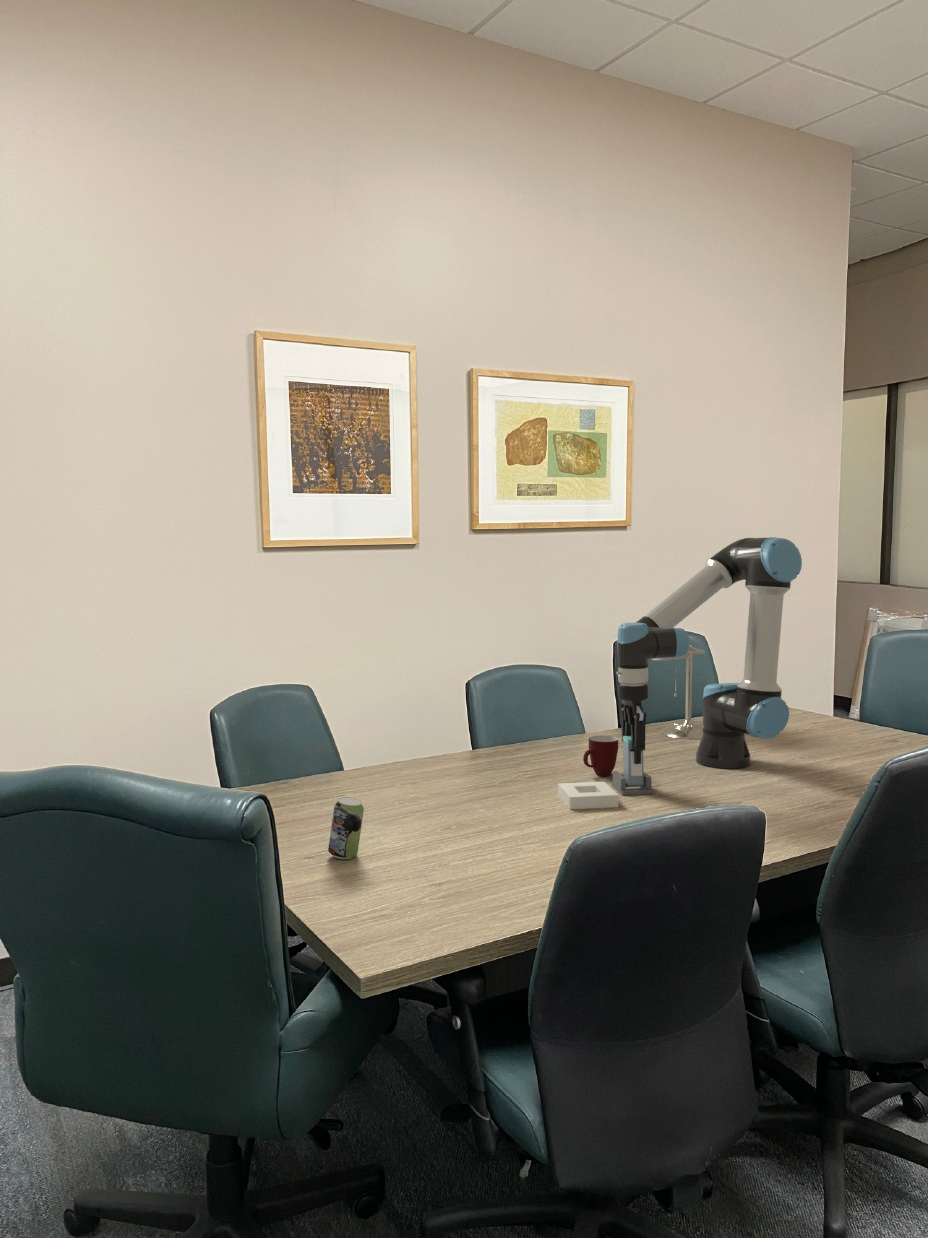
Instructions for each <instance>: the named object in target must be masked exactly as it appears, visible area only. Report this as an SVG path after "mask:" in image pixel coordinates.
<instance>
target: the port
mask: <svg viewBox="0 0 928 1238" xmlns="http://www.w3.org/2000/svg"><path fill="white" fill-rule="evenodd" d="M557 796H558V797H559V799H560V800H561V801H562V802H563V803H564V804H565V805H566V807H567V808H568V809H569V810H583V809H584V810H588V809H605V808H606V809H607V808H609V809H610V808H619V794H618V793H617V792H616V791H615V790H614V789H612V788H611V787H610V785H608V784H607V783H606V782H605V781H589V782H583V781H582V782H568V783H567V782H566V783H563V782H562V783H557Z"/></svg>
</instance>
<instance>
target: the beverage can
mask: <svg viewBox="0 0 928 1238" xmlns="http://www.w3.org/2000/svg"><path fill="white" fill-rule="evenodd" d="M364 811H365V809H364V805H363V802H362V800H360V799H359V798H355V797H350V796H343V797H339V798H337V802H335V804H334V805H333V812H332V819H331V820H332V821H331V826H330V827H331V828H330V834H329V835H330V836H329V841H328V848H327V851H328V853H329V854H331V855H332V857H333V858H336V859H339V860H350V859H352V858H353V857H356V855H358V853H359V845H360V839H361V833H362V825H363V817H364Z"/></svg>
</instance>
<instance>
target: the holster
mask: <svg viewBox="0 0 928 1238" xmlns="http://www.w3.org/2000/svg"><path fill="white" fill-rule="evenodd" d="M643 775H644V785H637V786H638V788H639V789H626V787H629V786H628V785H627V784H626V778H624V775H622V773H620V772H618V771H614V770H613V771H612V781H611V783H610V784H611V785H610V786H611V787H613V788H614V789H615V790H616V791H617V792H618V793H619V794H620V795H621V796H637V795H640V796H641V795H653V794H654V792H653V791H654V790H653V789H652V776H650V775H649V774H648V773H646V772H645V771H644V770H643ZM633 786H634V787H635V785H633Z"/></svg>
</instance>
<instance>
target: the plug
mask: <svg viewBox="0 0 928 1238" xmlns="http://www.w3.org/2000/svg"><path fill="white" fill-rule="evenodd" d="M622 743H623V744H622V746H623V748H622V750H623V751H622V752H623V754H622V755H623V757H622V758H623V759H622V760H623V768H622V769H623V777H624V778H626V784H627V785H628V786H627V787H631V786H633V785H634V786H638V785H644V775H643V771H644V750H643V751H642V776H631V752H630V750H629V749H632V739H631V736H623V741H622Z"/></svg>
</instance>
